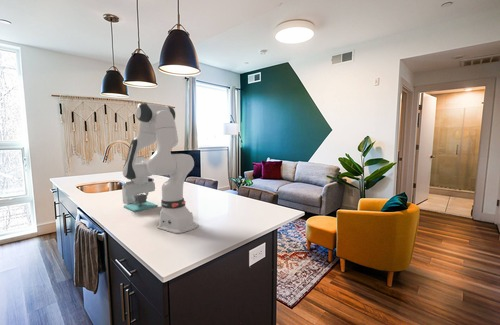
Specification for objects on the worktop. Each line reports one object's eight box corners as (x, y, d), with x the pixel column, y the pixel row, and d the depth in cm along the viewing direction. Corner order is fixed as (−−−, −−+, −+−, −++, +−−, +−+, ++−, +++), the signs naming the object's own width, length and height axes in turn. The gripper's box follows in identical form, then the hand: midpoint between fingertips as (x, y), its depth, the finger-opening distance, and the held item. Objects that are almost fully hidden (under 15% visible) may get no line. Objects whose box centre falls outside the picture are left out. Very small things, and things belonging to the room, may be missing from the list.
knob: (146, 202, 161) (146, 194, 160) (138, 203, 157) (137, 196, 156) (142, 200, 164) (142, 193, 164) (134, 202, 160) (134, 194, 160)
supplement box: (127, 204, 166) (126, 187, 165) (122, 202, 171) (121, 185, 170) (137, 202, 172) (136, 185, 171) (132, 200, 177) (131, 184, 175)
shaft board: (157, 206, 162) (157, 200, 161) (134, 212, 150) (133, 205, 149) (146, 202, 172) (146, 196, 171) (123, 207, 160) (123, 201, 159)
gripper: (125, 182, 149) (126, 203, 150) (155, 178, 164) (156, 197, 166) (121, 181, 153) (122, 202, 154) (151, 177, 168) (152, 196, 170)
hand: (140, 199), depth 160 cm, fingers closed on knob, 6 cm apart
